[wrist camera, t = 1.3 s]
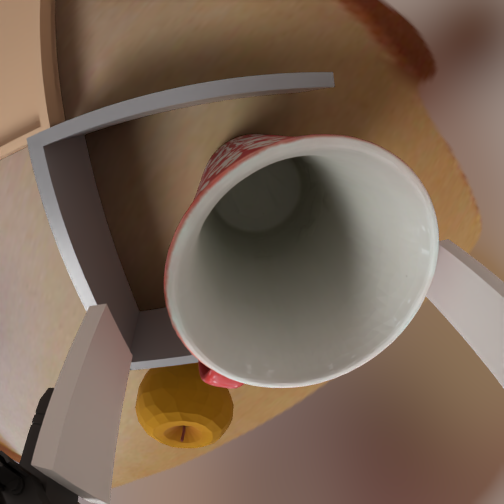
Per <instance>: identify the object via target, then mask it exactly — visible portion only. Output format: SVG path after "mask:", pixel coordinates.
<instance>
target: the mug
mask: <svg viewBox="0 0 504 504" xmlns="http://www.w3.org/2000/svg"><path fill="white" fill-rule="evenodd" d="M438 251H439V230H438V223H437V217H436V213H435V209H434V207H433V204H432V201H431V198H430V196H429V194H428V192H427V190H426V189H425V187H424V185H423V184H422V182H421V181H420V179H419V178H418V177H417V175H416V174H415V173H414V171H413V170H412V169H411V168H410V167H409V166H408V165H407V164H406V163H405V162H404V161H403V160H401V159H400V158H398V157H397V156H396V155H394V154H393V153H391V152H389V151H388V150H386V149H384V148H382V147H380V146H378V145H376V144H374V143H372V142H369V141H366V140H362V139H359V138H355V137H351V136H345V135H332V134H313V135H304V136H297V137H289V136H279V135H262V134H249V135H244V136H240V137H237V138H234V139H232V140H230V141H229V142H227V143H225V144H224V145H223V146H221V147H220V148H219V149H218V150H217V151H216V152H215V153H214V154H213V156H212V157H211V158H210V160H209V162H208V163H207V166H206V168H205V170H204V173H203V175H202V178H201V182H200V184H199V187H198V190H197V193H196V196H195V198H194V201H193V202H192V204H191V205H190V207H189V209H188V210H187V211H186V213H185V214H184V216H183V217H182V219H181V221H180V223H179V225H178V227H177V229H176V231H175V234H174V236H173V239H172V242H171V244H170V247H169V250H168V254H167V259H166V264H165V271H164V295H165V302H166V307H167V311H168V314H169V317H170V320H171V323H172V326H173V328H174V330H175V331H176V334H177V336H178V337H179V338H180V339H181V341H182V343H183V344H184V346H185V347H186V348H187V349H188V350H189V351H190V352H191V354H192V355H193V356H195V357H196V358H197V359H198V363H199V372H200V377H201V379H202V380H203V381H204V382H205V383H207V384H210V385H213V386H217V387H223V388H238V387H240V386H242V385H243V384H244V383H245V384H249V385H254V386H261V387H270V388H291V387H301V386H308V385H313V384H318V383H321V382H325V381H328V380H331V379H334V378H336V377H339V376H341V375H343V374H346V373H348V372H350V371H351V370H354V369H356V368H358V367H360V366H361V365H363V364H365V363H366V362H368V361H369V360H371V359H372V358H374V357H375V356H376V355H378V354H379V353H380V352H382V351H383V350H384V349H385V348H386V347H388V346H389V345H390V344H391V343H392V342H393V341H394V340H395V339H396V338H397V337H398V336H399V335H400V334H401V333H402V332H403V330H404V329H405V328H406V327H407V325H408V324H409V323H410V322H411V320H412V319H413V317H414V316H415V315H416V313H417V311H418V310H419V308H420V306H421V305H422V303H423V301H424V299H425V297H426V295H427V292H428V290H429V288H430V285H431V283H432V280H433V277H434V273H435V269H436V265H437V260H438Z"/></svg>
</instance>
